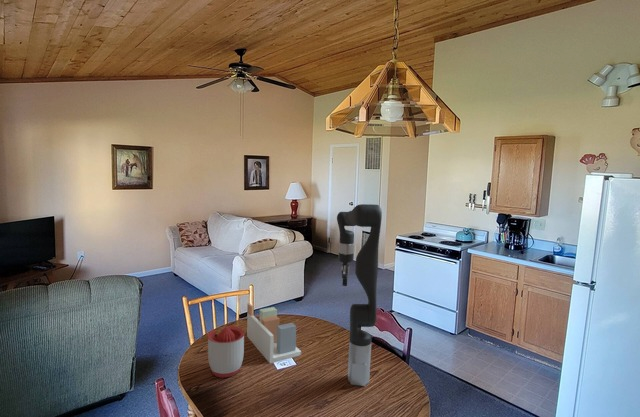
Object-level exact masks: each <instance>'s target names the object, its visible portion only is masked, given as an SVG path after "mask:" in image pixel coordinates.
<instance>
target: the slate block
mask: <svg viewBox="0 0 640 417" xmlns="http://www.w3.org/2000/svg"><path fill="white" fill-rule="evenodd" d="M296 347H297V325H296V324H295V323H294V322H289V323H283V324H280V325H278V326H277V351H278V352H279V353H280V354H282V353H286V352H290V351H294V350H296Z"/></svg>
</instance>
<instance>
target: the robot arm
mask: <svg viewBox="0 0 640 417" xmlns="http://www.w3.org/2000/svg"><path fill="white" fill-rule="evenodd" d="M382 216H383V212H382V208H381V206H380V205H379V204H370V203H369V204H365V203H363V204H357V205H356V206H355V207H353V209H351V210H349V211H340V212H338V213H337V215H336V222H337V226H338V230H339V244H338V256H337V257H338V258H337V259H338V262H340V263H341V266H340V268H341V279H342V287H347V286H348V278H349V274H350V268H351V265H350V263H353V262H354V255H355V254H354V253H355V244H354V243H355V233H354V231H352V230H348V229H345V227H356V226H357V227H360V228H370V231H369V235H368V237H367V239H366V241H365V242H364V244H363V246H362V247H361V248H360V250H359V252H357V255H356V256H355V268H354V270H355V277H356V278H357V280H358V282H359V284H360V286H362V289H363V290H364V292H365V295H366V297H367V302H368V303H352V304H351V306H350V310H349V345H348V360H347V362H348V364H347V365H348V366H347V367H348V368H347V381H348V382H349V383H350V385H351V386H358V387H359V386H361V387H366V386H367V384H369V382H370V376H371V375H370V374H371V373H370V372H371V371H370V370H371V358H372V356H371V355H372V340H373V339H372V335H371V333H370V332H368V331H365V330H363V329H361V328H372V327H373V328H374V327H375V326H376V324H377V314H378V313H377V286H378V272H379V271H378V270H379V244H380V236H381V226H382V220H383V219H382Z"/></svg>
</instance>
